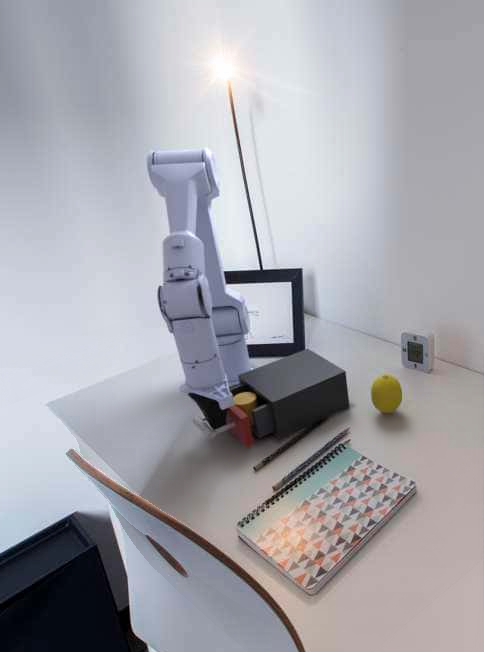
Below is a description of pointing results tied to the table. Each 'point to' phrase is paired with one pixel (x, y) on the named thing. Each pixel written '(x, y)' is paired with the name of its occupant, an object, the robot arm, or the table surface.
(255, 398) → the yellow wooden cylinder
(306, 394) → the dark grey box
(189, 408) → the table surface
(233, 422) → the drawer
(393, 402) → the lemon
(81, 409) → the table surface
